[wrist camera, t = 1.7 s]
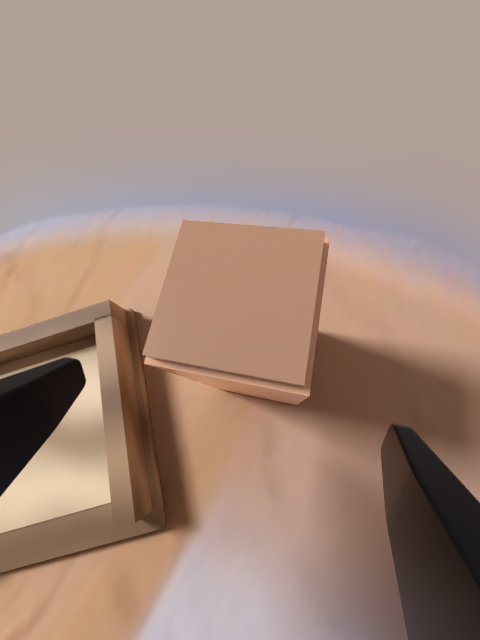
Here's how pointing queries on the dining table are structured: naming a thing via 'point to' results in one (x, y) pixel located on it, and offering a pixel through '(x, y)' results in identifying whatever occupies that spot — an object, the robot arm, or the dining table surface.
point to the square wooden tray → (84, 443)
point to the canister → (241, 309)
